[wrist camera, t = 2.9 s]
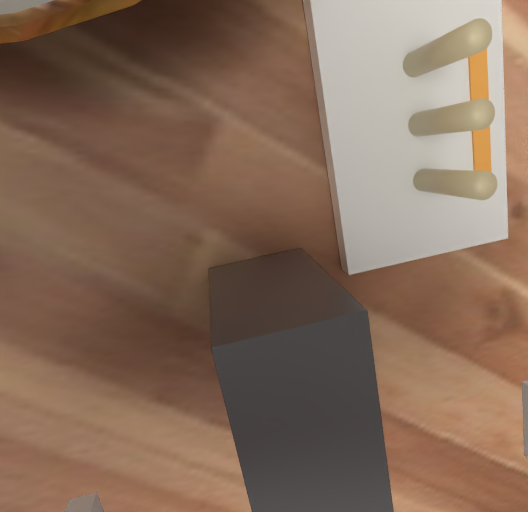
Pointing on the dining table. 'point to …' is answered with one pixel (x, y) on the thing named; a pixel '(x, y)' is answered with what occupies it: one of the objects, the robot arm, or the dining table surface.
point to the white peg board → (411, 125)
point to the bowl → (50, 15)
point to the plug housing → (298, 386)
